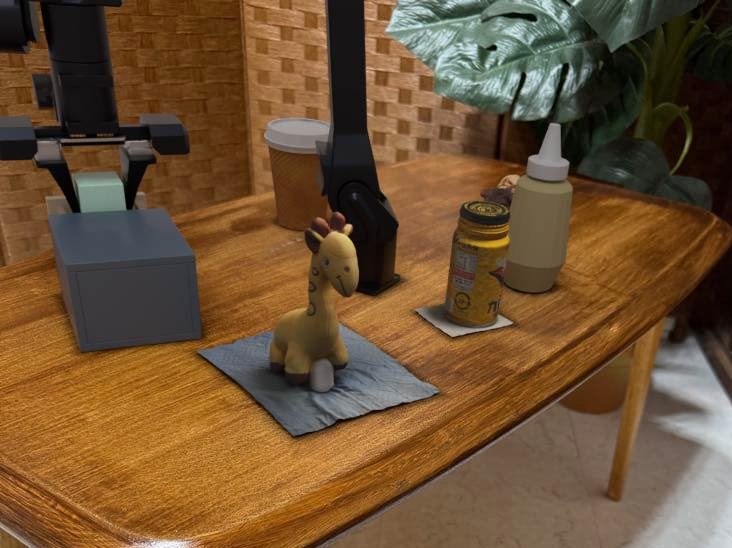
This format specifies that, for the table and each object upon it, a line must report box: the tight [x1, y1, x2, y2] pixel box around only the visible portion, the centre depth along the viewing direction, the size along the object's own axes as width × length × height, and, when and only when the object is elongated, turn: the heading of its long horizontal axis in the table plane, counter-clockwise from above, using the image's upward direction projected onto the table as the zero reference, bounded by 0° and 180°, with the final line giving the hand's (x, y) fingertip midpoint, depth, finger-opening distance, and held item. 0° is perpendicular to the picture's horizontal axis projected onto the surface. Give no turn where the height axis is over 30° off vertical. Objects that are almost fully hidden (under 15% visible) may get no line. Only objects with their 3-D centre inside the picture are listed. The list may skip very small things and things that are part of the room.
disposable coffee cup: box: [263, 117, 331, 231], centre depth 110 cm, size 10×10×12 cm
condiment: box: [414, 200, 514, 338], centre depth 90 cm, size 7×8×12 cm
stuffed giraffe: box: [196, 212, 440, 437], centre depth 77 cm, size 16×18×16 cm
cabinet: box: [47, 207, 202, 353], centre depth 85 cm, size 14×12×9 cm
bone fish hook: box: [479, 174, 521, 210], centre depth 123 cm, size 9×5×18 cm
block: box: [71, 170, 126, 213], centre depth 90 cm, size 4×4×6 cm
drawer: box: [44, 191, 148, 216], centre depth 93 cm, size 17×10×7 cm, turn 24°
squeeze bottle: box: [503, 122, 574, 293], centre depth 97 cm, size 8×8×18 cm
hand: (103, 221), depth 91 cm, fingers closed on block, 4 cm apart
